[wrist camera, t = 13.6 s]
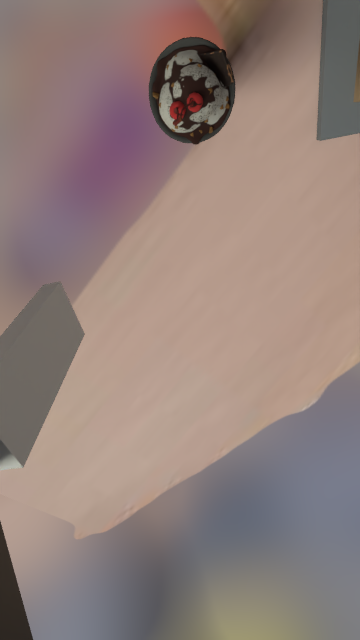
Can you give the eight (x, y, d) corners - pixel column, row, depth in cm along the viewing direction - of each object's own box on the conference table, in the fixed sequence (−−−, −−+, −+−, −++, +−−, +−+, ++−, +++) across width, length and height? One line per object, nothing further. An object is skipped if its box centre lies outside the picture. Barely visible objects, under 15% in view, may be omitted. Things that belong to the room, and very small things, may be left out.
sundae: (160, 138, 35) (146, 152, 22) (156, 59, 31) (136, 23, 19) (221, 135, 35) (241, 148, 22) (223, 56, 31) (249, 17, 18)
